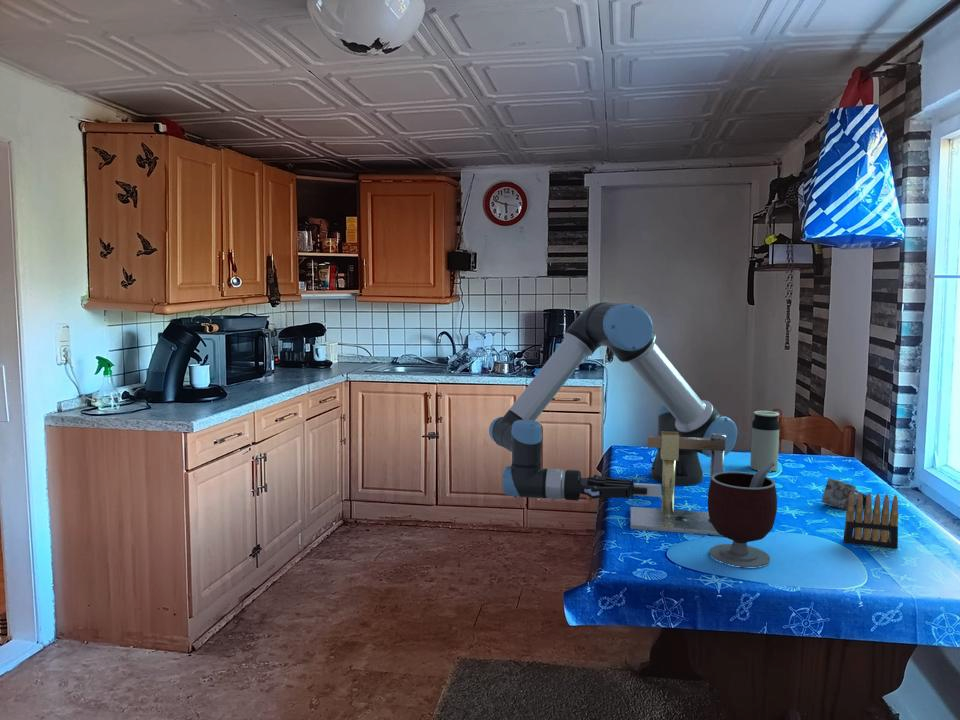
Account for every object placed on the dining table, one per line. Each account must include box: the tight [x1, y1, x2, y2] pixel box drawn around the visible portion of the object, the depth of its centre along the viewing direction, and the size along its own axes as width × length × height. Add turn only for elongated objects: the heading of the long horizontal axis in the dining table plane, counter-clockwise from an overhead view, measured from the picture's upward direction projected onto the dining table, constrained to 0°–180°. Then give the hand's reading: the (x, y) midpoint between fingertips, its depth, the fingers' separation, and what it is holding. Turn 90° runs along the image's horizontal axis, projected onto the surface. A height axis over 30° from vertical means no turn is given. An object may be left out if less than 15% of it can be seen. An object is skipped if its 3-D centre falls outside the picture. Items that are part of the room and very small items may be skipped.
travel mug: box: [749, 410, 780, 472], centre depth 225 cm, size 8×8×18 cm
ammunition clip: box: [842, 491, 899, 550], centre depth 161 cm, size 11×2×12 cm, turn 72°
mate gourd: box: [707, 462, 778, 567], centre depth 154 cm, size 16×14×20 cm
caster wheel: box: [821, 477, 873, 511], centre depth 190 cm, size 7×11×10 cm
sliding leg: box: [660, 431, 679, 517], centre depth 176 cm, size 4×6×21 cm
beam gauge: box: [630, 433, 726, 536], centre depth 174 cm, size 26×14×22 cm, turn 78°
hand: (660, 490), depth 176 cm, fingers closed
